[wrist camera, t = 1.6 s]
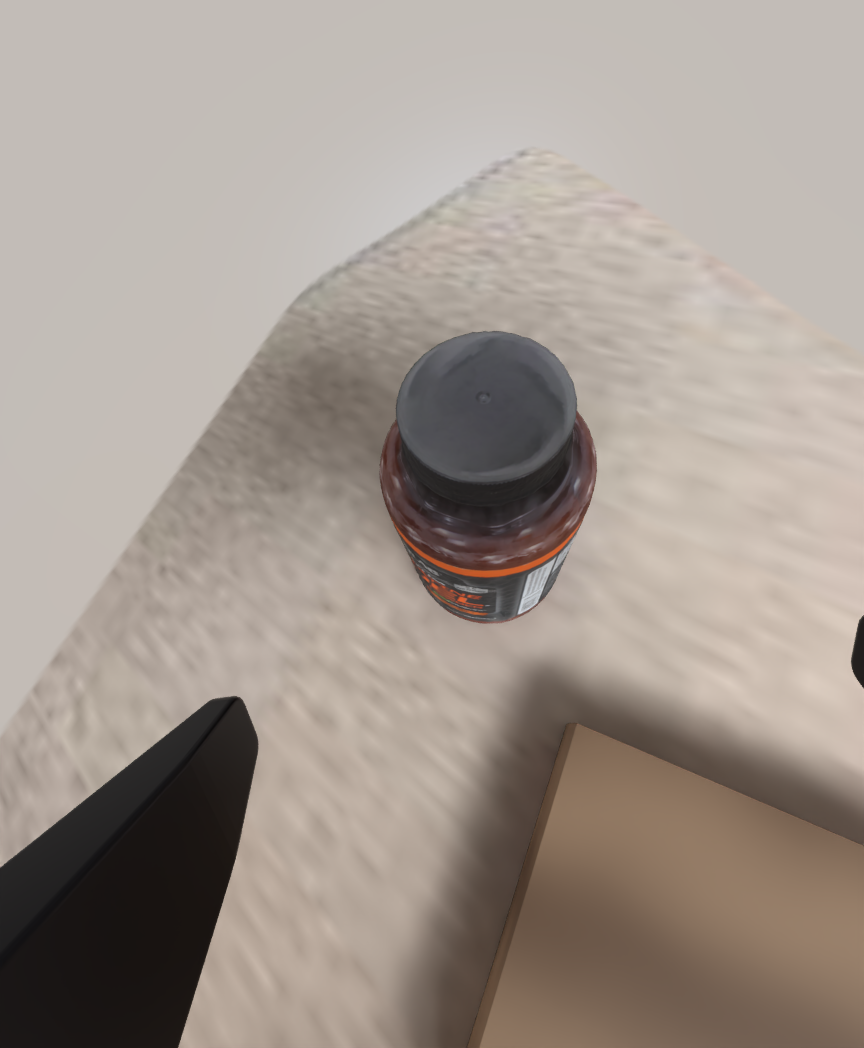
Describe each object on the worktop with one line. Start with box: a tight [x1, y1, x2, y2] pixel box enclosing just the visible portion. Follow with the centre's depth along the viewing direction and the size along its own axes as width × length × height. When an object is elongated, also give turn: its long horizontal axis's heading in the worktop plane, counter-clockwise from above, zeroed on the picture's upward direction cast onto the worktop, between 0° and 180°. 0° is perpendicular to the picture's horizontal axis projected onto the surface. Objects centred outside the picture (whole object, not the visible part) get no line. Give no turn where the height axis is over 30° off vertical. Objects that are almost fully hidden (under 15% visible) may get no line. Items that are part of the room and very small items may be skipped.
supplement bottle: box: [380, 331, 597, 623], centre depth 16 cm, size 6×6×11 cm
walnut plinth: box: [467, 723, 864, 1048], centre depth 14 cm, size 12×12×2 cm
